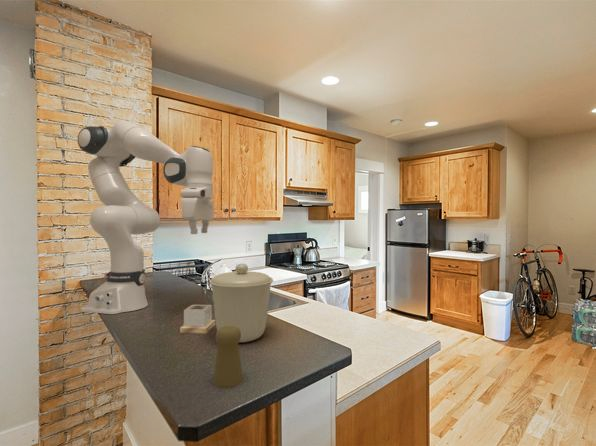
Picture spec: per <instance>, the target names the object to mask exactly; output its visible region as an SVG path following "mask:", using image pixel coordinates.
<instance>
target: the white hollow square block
mask: <svg viewBox="0 0 596 446" xmlns="http://www.w3.org/2000/svg"><path fill="white" fill-rule="evenodd" d="M212 320H213V305H212V304H191V305H190V306H188V307H187V308H184V309H183V325H184V327H206V326H207V325H208V324H209V323H210V322H211V321H212Z"/></svg>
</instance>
